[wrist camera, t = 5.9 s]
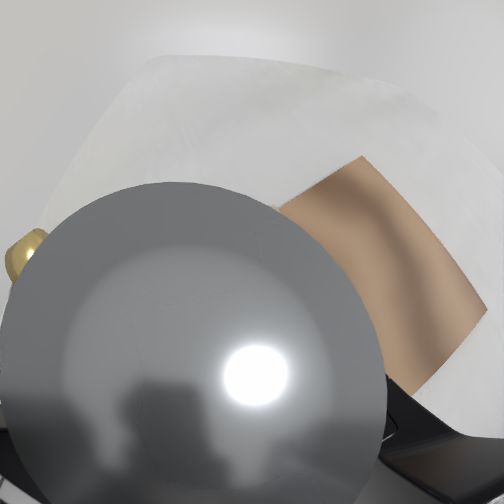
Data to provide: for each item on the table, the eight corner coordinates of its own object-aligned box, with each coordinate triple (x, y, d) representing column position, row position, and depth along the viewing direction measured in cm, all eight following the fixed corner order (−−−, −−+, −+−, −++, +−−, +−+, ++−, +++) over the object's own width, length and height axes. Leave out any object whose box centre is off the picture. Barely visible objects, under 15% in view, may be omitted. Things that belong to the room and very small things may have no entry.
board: (258, 494, 17) (255, 507, 15) (135, 313, 23) (121, 308, 21) (480, 312, 20) (495, 306, 17) (359, 163, 26) (364, 147, 23)
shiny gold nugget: (56, 236, 26) (32, 252, 26) (26, 221, 21) (2, 241, 21) (65, 279, 25) (40, 294, 25) (34, 270, 20) (8, 288, 20)
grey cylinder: (264, 427, 13) (209, 611, 1) (187, 374, 15) (-30, 386, 3) (318, 351, 15) (463, 327, 2) (240, 301, 16) (125, 133, 4)
